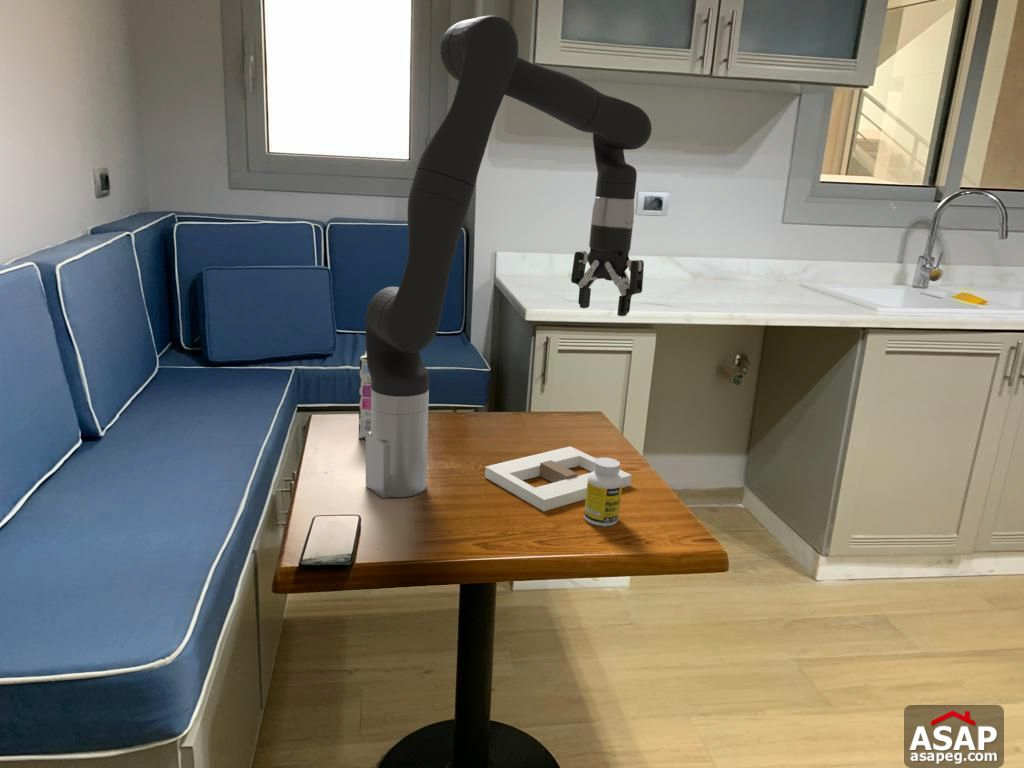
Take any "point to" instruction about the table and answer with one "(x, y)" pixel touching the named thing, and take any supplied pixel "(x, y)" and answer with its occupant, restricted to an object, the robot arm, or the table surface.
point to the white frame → (547, 477)
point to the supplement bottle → (603, 493)
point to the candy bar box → (364, 398)
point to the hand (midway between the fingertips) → (602, 311)
